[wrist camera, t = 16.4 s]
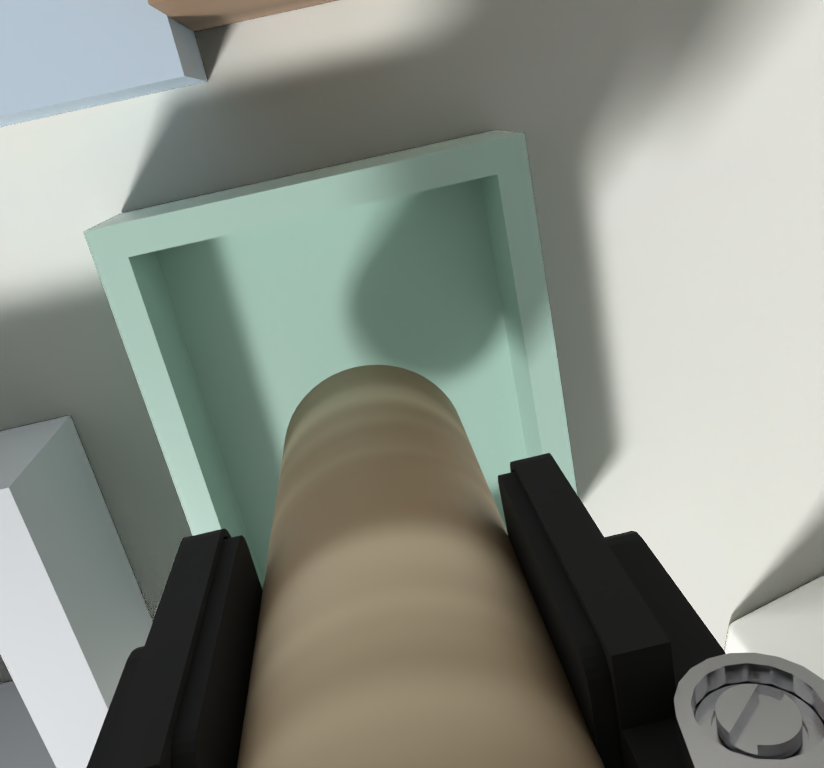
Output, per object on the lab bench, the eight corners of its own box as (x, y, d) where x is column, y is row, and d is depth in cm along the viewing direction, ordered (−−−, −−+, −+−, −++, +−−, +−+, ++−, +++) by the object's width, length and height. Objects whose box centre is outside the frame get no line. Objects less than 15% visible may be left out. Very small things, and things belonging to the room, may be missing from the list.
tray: (120, 213, 16) (83, 231, 13) (495, 129, 16) (524, 133, 14) (252, 606, 19) (243, 675, 17) (560, 534, 19) (591, 591, 17)
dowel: (262, 387, 14) (-10, 1465, 3) (446, 346, 14) (880, 1238, 3) (309, 546, 15) (245, 1743, 4) (479, 507, 15) (874, 1573, 4)
